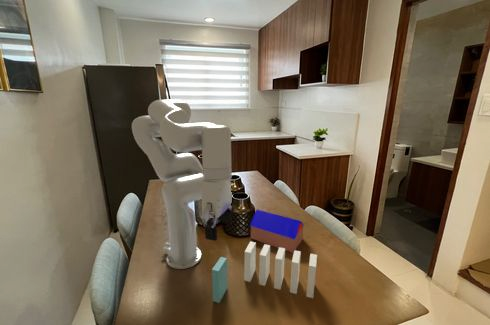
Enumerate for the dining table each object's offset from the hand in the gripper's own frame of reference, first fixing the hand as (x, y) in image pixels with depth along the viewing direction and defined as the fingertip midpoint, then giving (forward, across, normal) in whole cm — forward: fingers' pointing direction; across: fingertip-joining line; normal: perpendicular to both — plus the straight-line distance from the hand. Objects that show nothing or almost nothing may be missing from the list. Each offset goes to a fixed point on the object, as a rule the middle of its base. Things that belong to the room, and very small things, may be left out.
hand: (219, 230), depth 66 cm
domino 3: (+22, -11, +10) cm, 27 cm away
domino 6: (+22, -11, +26) cm, 36 cm away
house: (+22, -36, +10) cm, 43 cm away
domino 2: (+22, -11, +6) cm, 25 cm away
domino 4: (+22, -11, +16) cm, 29 cm away
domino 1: (+22, 0, 0) cm, 22 cm away
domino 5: (+22, -11, +20) cm, 32 cm away
